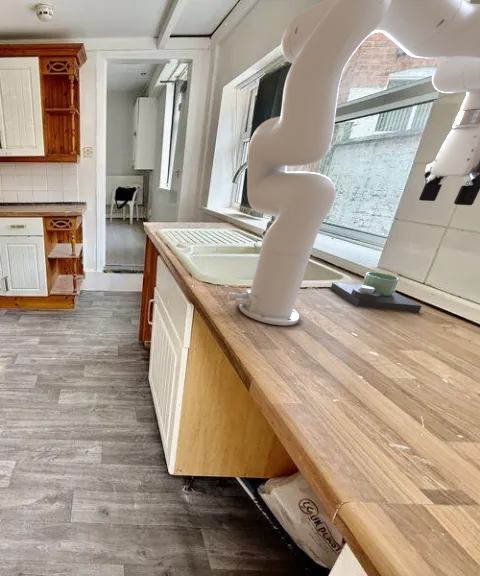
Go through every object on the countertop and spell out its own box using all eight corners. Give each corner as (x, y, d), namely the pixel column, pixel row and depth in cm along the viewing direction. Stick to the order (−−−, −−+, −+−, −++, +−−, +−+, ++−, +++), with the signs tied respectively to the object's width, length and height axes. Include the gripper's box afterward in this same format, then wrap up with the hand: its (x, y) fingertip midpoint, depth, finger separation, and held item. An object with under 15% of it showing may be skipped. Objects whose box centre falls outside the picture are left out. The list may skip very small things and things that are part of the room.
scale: (356, 306, 79) (361, 294, 77) (329, 288, 91) (333, 277, 90) (419, 313, 77) (425, 300, 75) (383, 293, 89) (387, 282, 87)
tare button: (363, 294, 79) (365, 288, 78) (357, 290, 81) (359, 284, 80) (374, 295, 78) (377, 289, 78) (368, 291, 81) (370, 285, 80)
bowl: (370, 295, 82) (377, 278, 80) (355, 286, 88) (361, 271, 86) (399, 297, 81) (406, 281, 79) (381, 288, 87) (388, 273, 85)
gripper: (548, 114, 57) (500, 207, 64) (463, 126, 73) (431, 200, 80) (501, 114, 59) (458, 205, 65) (427, 125, 74) (398, 198, 81)
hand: (443, 202), depth 72 cm, fingers open, 9 cm apart
